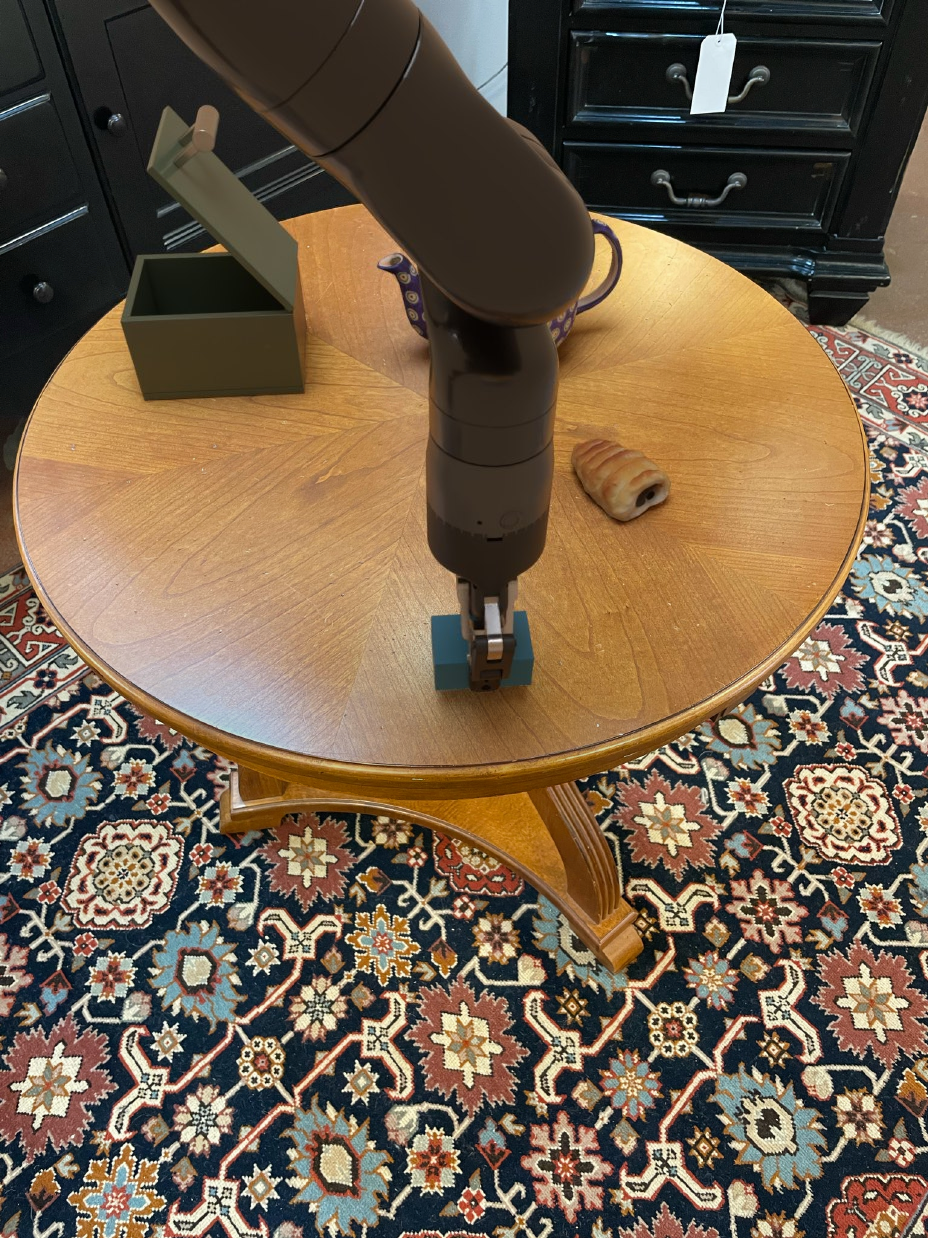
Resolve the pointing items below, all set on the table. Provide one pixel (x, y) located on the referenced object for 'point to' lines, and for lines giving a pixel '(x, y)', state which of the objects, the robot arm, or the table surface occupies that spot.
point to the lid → (223, 202)
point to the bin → (211, 329)
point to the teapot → (558, 326)
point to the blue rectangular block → (454, 649)
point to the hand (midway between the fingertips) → (480, 659)
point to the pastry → (619, 477)
